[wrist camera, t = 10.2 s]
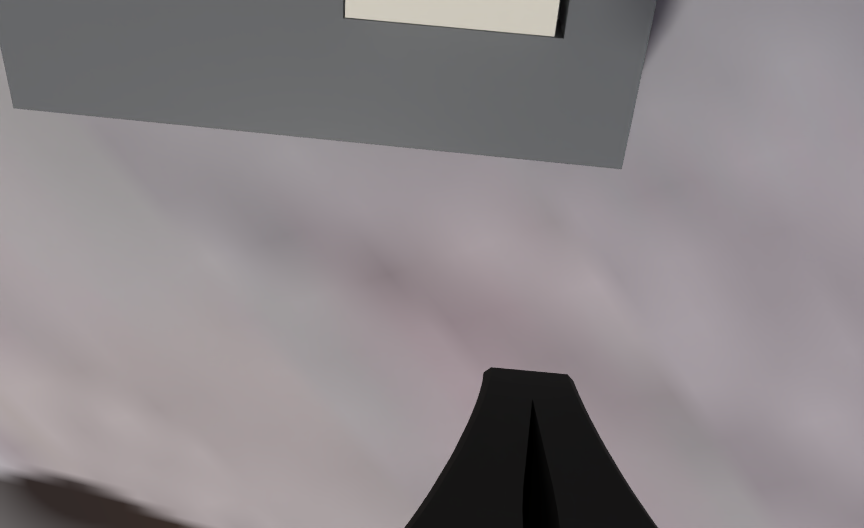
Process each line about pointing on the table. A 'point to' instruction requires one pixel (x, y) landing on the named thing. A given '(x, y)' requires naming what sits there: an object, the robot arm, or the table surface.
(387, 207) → the table surface
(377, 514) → the table surface
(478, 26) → the ivory button
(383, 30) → the control panel
